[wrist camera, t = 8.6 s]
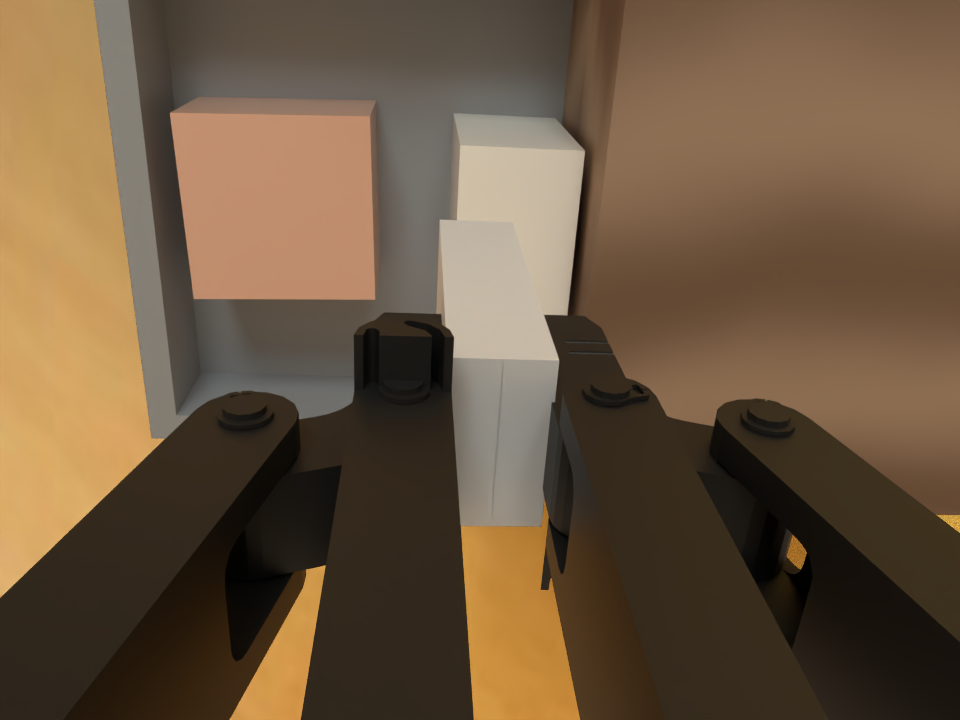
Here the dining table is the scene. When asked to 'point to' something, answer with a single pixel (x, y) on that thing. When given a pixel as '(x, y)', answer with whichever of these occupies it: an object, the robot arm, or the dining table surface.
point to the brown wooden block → (779, 214)
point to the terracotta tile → (279, 197)
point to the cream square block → (522, 191)
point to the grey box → (305, 75)
